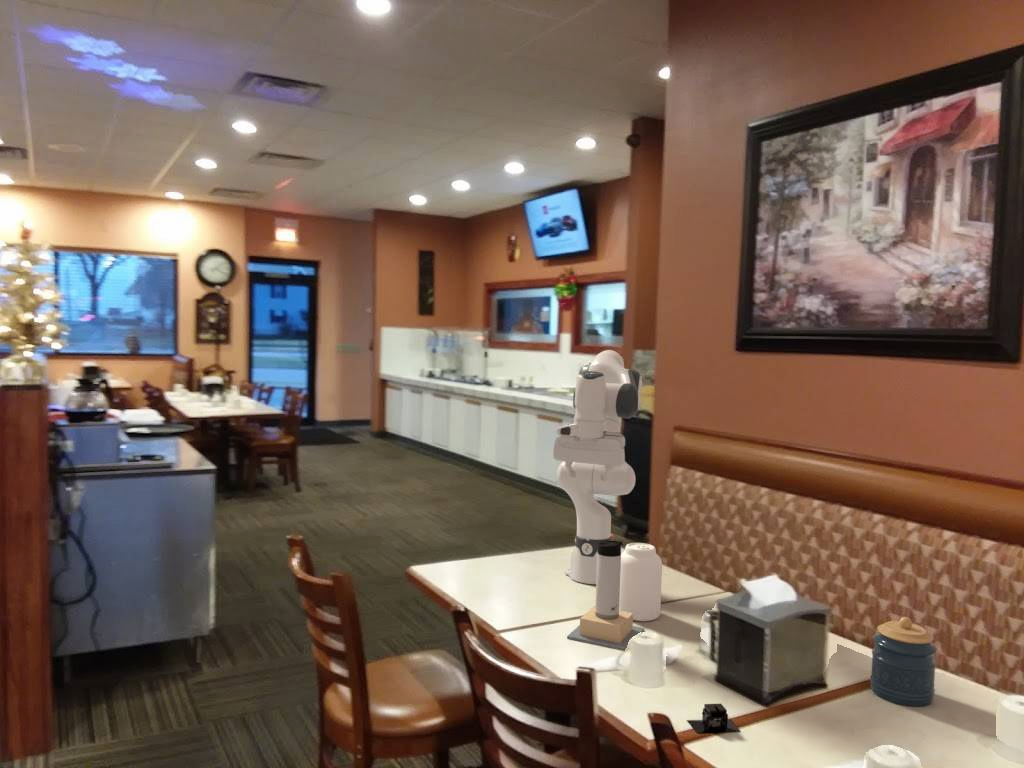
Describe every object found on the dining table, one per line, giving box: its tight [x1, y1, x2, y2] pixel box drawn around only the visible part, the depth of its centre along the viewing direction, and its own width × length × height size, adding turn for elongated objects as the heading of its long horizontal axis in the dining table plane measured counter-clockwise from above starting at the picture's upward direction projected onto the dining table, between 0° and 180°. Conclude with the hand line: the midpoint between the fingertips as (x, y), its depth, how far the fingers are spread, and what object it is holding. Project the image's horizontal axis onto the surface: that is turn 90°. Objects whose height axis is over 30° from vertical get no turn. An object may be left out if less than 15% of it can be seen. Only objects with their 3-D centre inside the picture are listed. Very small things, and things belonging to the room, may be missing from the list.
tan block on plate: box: [566, 605, 645, 651], centre depth 203 cm, size 16×16×5 cm
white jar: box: [619, 542, 663, 622], centre depth 219 cm, size 12×12×20 cm
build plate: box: [686, 703, 742, 735], centre depth 156 cm, size 12×7×5 cm, turn 98°
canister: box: [869, 616, 938, 707], centre depth 172 cm, size 13×13×18 cm
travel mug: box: [594, 540, 624, 619], centre depth 203 cm, size 6×7×20 cm
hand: (587, 479), depth 214 cm, fingers open, 8 cm apart
